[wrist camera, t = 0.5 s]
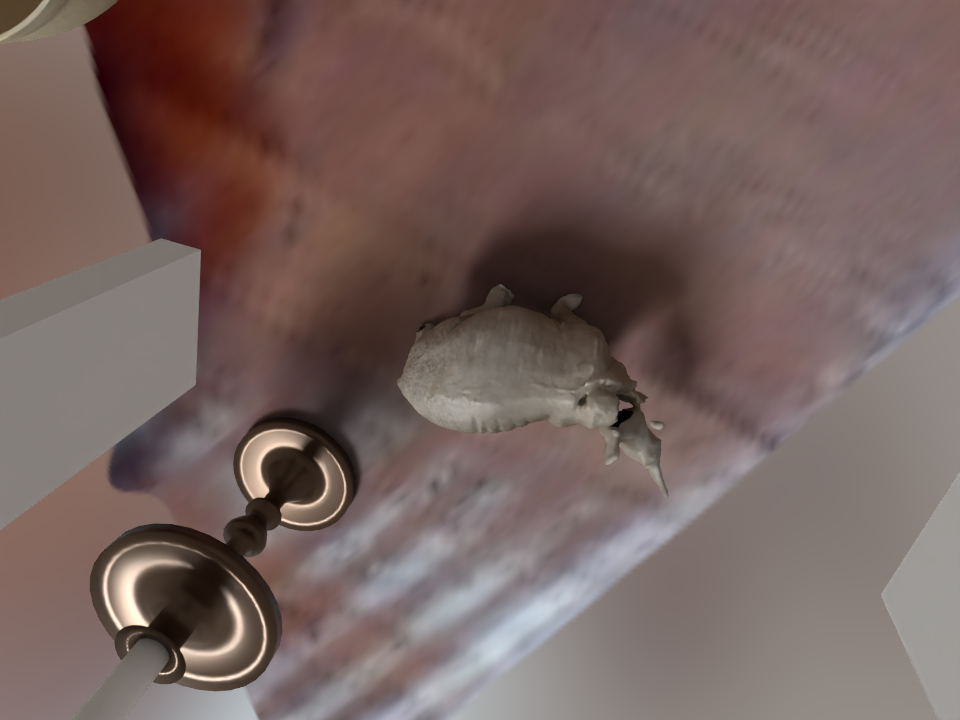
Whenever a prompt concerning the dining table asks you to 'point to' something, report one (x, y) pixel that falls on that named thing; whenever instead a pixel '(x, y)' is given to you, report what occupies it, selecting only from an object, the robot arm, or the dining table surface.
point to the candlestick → (213, 574)
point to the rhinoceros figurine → (527, 377)
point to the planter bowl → (45, 17)
